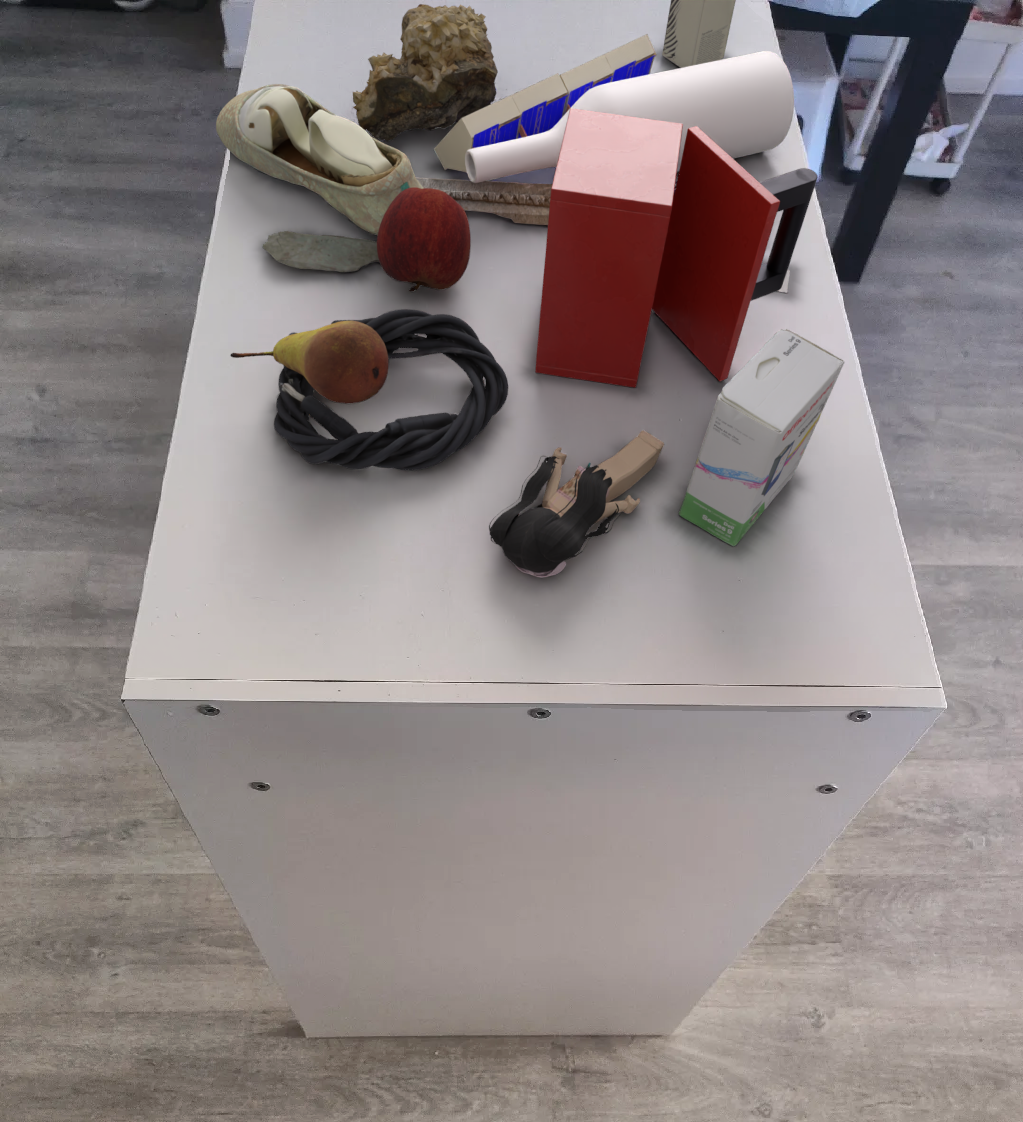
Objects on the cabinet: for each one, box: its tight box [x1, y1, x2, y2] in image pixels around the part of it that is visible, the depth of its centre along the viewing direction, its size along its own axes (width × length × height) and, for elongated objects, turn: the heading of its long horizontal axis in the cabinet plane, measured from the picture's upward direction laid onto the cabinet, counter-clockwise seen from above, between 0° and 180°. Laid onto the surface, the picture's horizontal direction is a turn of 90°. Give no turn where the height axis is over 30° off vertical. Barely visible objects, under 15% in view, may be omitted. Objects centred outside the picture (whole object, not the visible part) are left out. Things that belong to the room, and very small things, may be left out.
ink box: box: [678, 328, 845, 547], centre depth 69 cm, size 9×5×12 cm, turn 143°
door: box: [651, 126, 818, 382], centre depth 77 cm, size 6×10×15 cm, turn 30°
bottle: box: [465, 50, 795, 183], centre depth 90 cm, size 8×8×30 cm
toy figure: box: [488, 430, 665, 578], centre depth 70 cm, size 7×6×15 cm
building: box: [433, 33, 658, 173], centre depth 94 cm, size 23×6×4 cm
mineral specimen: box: [352, 3, 499, 142], centre depth 93 cm, size 14×13×10 cm
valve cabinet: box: [534, 108, 683, 388], centre depth 76 cm, size 8×10×16 cm
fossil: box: [416, 177, 552, 226], centre depth 90 cm, size 18×3×4 cm
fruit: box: [230, 321, 389, 405], centre depth 72 cm, size 6×6×12 cm
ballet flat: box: [215, 83, 423, 236], centre depth 87 cm, size 8×25×8 cm, turn 52°
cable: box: [273, 308, 509, 472], centre depth 75 cm, size 17×14×4 cm
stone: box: [262, 230, 380, 273], centre depth 85 cm, size 11×2×5 cm
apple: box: [376, 187, 472, 293], centre depth 81 cm, size 7×8×8 cm
